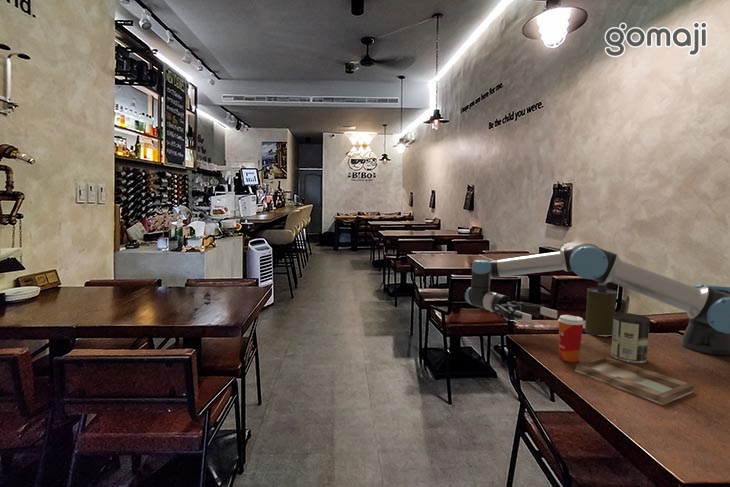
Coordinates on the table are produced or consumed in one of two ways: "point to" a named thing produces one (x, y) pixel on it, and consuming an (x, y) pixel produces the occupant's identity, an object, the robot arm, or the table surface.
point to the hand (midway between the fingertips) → (544, 316)
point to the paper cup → (570, 337)
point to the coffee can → (630, 337)
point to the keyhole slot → (634, 379)
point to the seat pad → (655, 386)
